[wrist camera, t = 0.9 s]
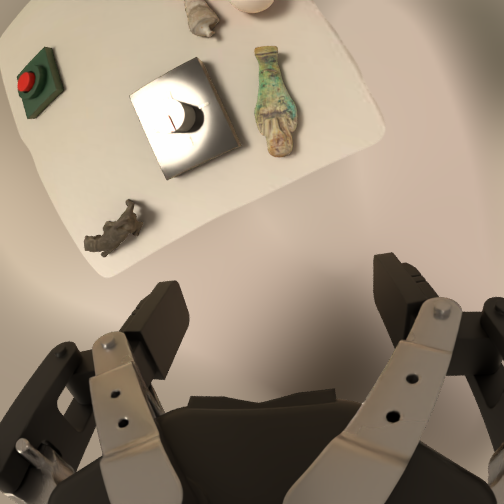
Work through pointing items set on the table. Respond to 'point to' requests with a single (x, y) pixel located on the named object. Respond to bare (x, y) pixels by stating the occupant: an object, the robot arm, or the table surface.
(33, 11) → the table surface
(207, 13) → the seashell
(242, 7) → the egg
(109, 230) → the grey animal-shaped piece
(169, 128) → the knob
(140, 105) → the black dial control panel
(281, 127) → the figurine
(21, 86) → the button
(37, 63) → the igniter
